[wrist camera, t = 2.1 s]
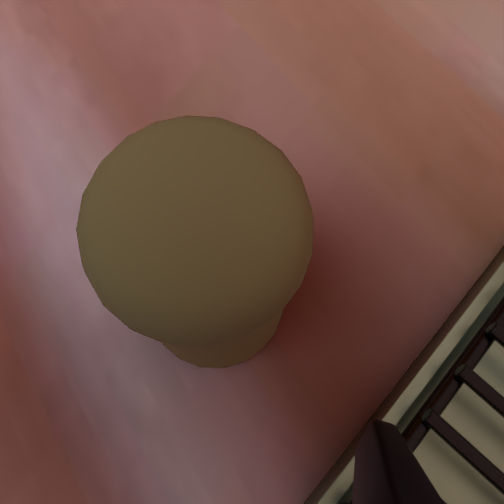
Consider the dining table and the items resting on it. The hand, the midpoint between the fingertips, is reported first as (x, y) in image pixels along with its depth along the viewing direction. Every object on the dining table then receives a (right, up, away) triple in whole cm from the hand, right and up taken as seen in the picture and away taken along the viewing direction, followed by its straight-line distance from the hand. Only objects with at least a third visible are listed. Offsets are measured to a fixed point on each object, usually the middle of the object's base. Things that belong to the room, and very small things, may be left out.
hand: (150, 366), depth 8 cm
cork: (0, 0, +10) cm, 10 cm away
